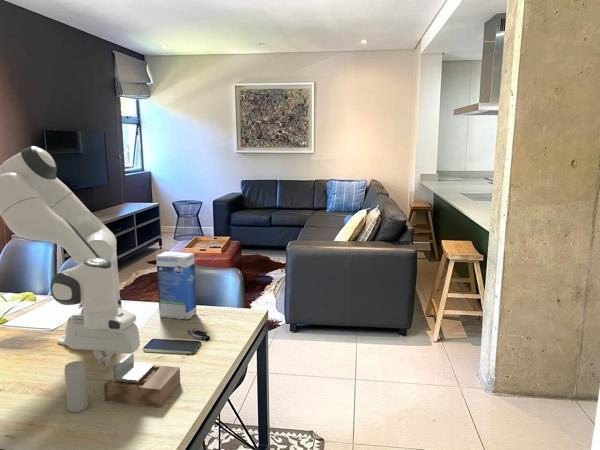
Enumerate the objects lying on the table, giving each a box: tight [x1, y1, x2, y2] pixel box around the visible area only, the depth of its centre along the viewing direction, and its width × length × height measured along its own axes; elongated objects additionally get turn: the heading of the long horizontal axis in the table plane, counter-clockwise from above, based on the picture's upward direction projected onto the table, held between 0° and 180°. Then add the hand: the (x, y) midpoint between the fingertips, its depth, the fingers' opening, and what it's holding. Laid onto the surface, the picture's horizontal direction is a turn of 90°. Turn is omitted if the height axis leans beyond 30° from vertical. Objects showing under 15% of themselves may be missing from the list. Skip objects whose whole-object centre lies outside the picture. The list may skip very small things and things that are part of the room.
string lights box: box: [155, 251, 197, 320], centre depth 176 cm, size 13×8×26 cm, turn 77°
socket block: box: [103, 364, 181, 408], centre depth 122 cm, size 16×12×5 cm
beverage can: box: [64, 360, 89, 413], centre depth 113 cm, size 5×5×12 cm
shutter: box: [112, 352, 155, 383], centre depth 121 cm, size 7×9×4 cm
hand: (104, 364), depth 122 cm, fingers closed
